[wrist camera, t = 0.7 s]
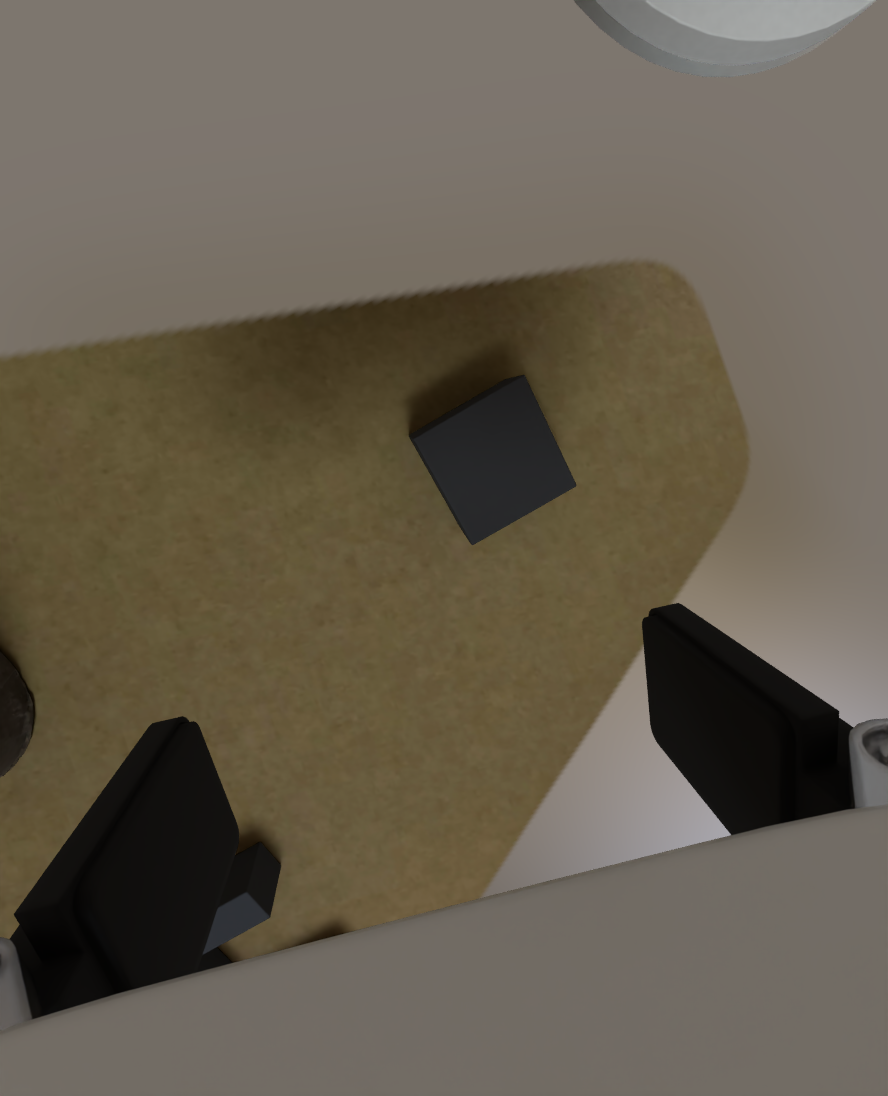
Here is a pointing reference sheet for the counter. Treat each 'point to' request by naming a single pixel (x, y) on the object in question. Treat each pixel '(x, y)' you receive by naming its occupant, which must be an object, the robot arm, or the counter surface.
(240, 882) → the large pad
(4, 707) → the pillar candle
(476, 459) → the small pad
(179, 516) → the counter surface
